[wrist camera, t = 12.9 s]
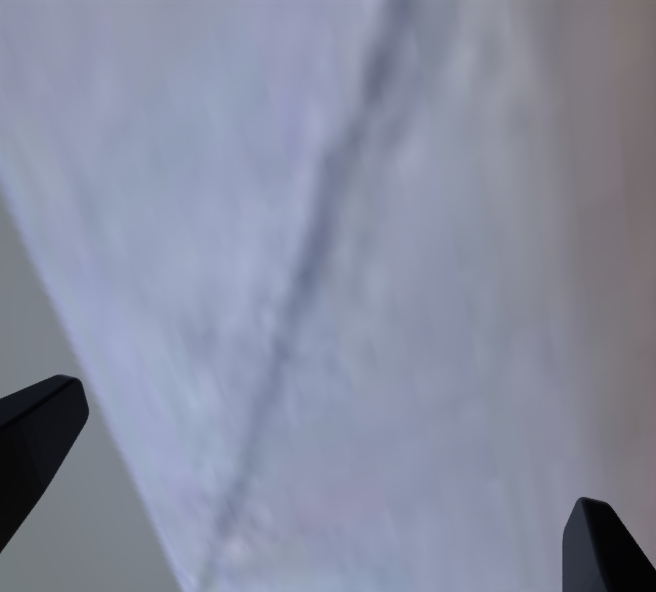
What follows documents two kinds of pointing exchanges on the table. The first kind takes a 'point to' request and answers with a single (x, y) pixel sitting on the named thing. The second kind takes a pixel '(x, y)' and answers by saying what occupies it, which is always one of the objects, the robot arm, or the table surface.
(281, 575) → the table surface
